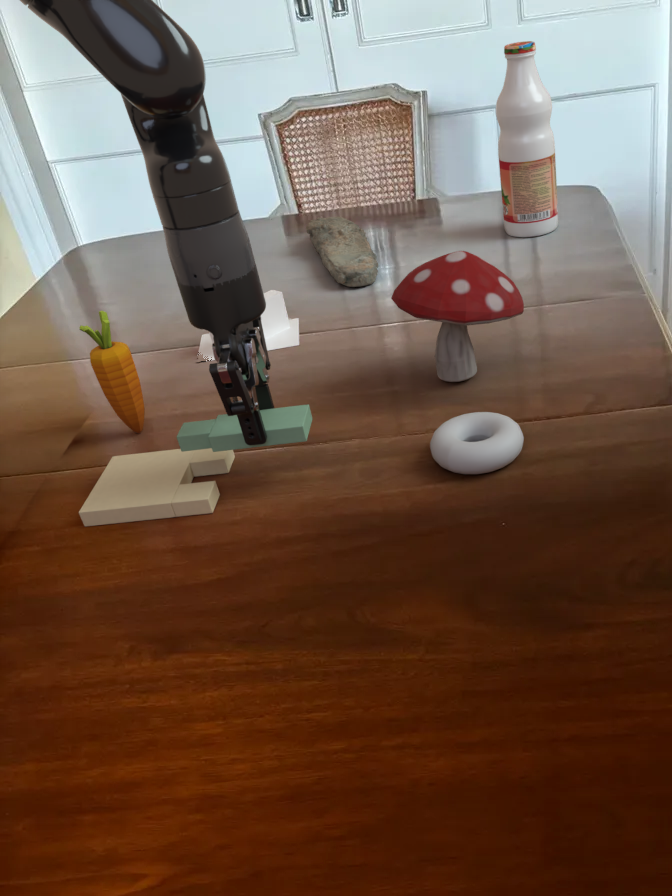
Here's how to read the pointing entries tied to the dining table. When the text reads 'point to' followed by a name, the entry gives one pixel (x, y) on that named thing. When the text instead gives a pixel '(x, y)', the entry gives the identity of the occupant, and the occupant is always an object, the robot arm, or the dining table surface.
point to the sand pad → (155, 486)
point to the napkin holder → (266, 327)
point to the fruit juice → (526, 147)
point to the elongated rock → (344, 250)
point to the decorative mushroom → (458, 305)
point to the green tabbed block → (228, 434)
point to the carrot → (117, 375)
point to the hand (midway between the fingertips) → (261, 429)
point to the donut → (476, 443)
